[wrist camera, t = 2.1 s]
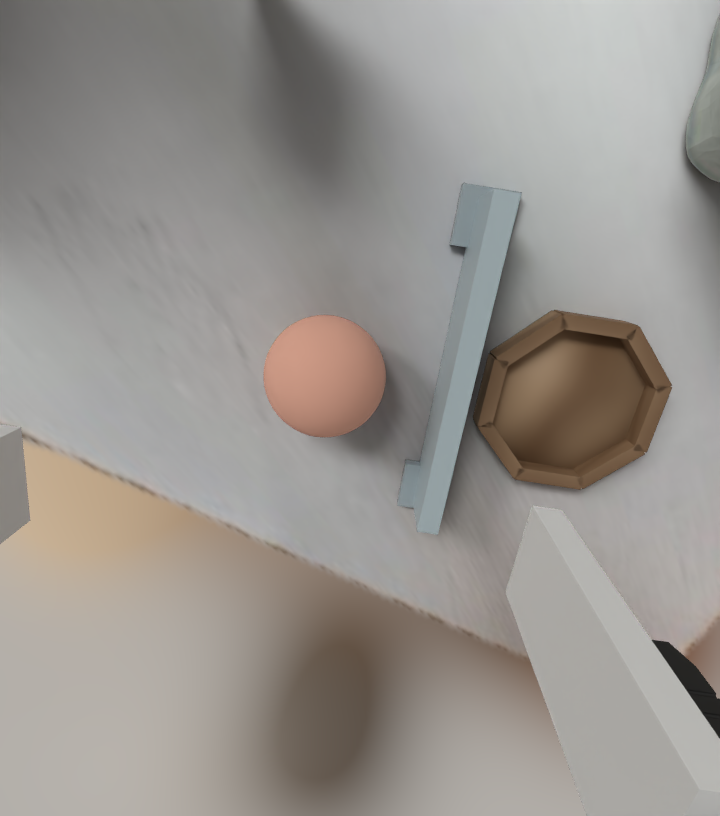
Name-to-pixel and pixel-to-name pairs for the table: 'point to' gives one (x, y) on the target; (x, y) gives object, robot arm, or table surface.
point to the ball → (324, 376)
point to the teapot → (707, 117)
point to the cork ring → (571, 399)
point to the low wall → (460, 346)
